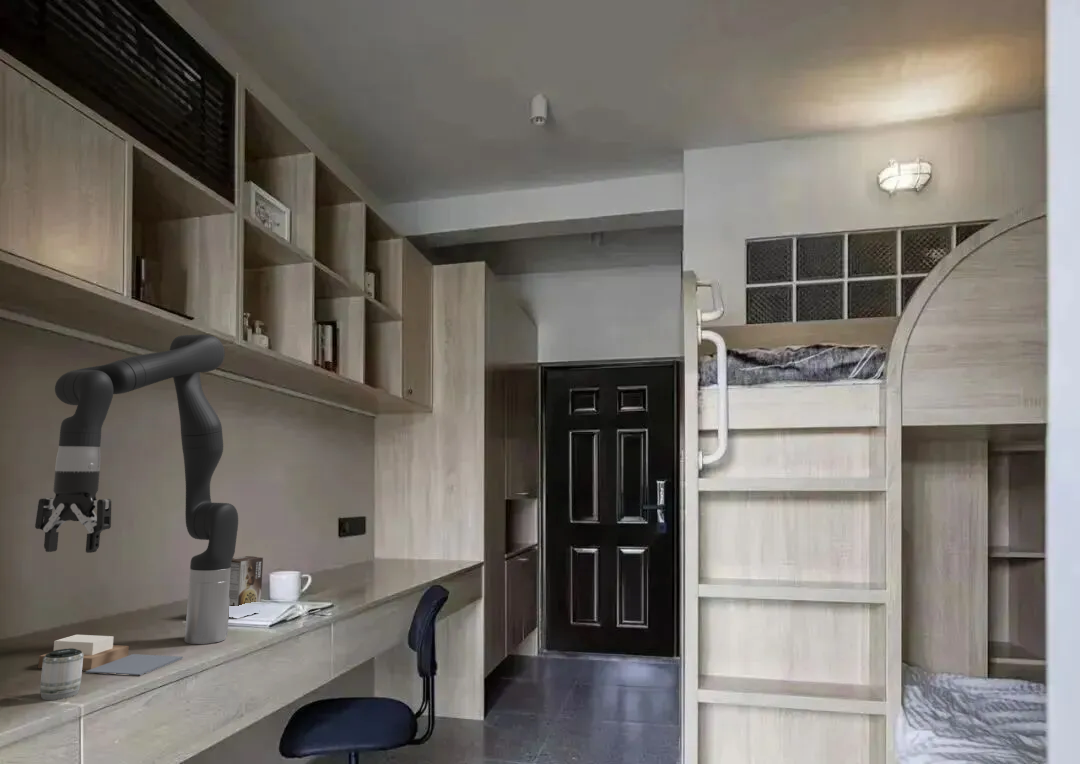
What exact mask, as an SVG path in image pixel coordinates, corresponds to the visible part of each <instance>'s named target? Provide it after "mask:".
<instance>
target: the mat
mask: <svg viewBox="0 0 1080 764" xmlns="http://www.w3.org/2000/svg"><path fill="white" fill-rule="evenodd" d="M182 658H184V657H183V656H178V655H156V654H139V653H132V654H128V656H126V657H123V658H121V659H118V660H115V661H112V662H110V663H107V664H104V665H101V666H99V667H96V668H93V669H90V670H88V671H84V673H85V674H90V673H116V674H129V675H142V674H144V673H146V674H148V673H147V672H149V673H151V672H153V671H152V670H154V671H156V670H158V669H157V668H159V669H161V668H163V667H165V665H166V666H168V665H170V663H171V664H173V663H175V662H177V660H178V661H179V660H183V659H182ZM167 664H168V665H167ZM162 666H163V667H162ZM160 667H161V668H160ZM155 669H156V670H155ZM150 671H151V672H150ZM144 675H145V674H144ZM142 676H143V675H142Z"/></svg>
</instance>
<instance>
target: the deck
mask: <svg viewBox="0 0 1080 764" xmlns="http://www.w3.org/2000/svg"><path fill="white" fill-rule="evenodd" d="M129 649H130V646H129V645H120V644H119V645H117V644H113V648H112V649H109V650H106V651H103V652H100V653H97V654H94V655H84V656H83V666H82V670H90V669H93V668H96V667H99V666H101V665H104V664H107V663H110V662H112V661H115V660H118V659H121V658H123V657H126V656H129V651H130V650H129ZM51 652H52V651H50V652H47V653H44V654H42V655H39V657H38V664H37V668H38V669H40V668H42V664H43V658H44V657H45V655H47V654H48V653H51Z"/></svg>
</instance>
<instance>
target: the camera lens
mask: <svg viewBox="0 0 1080 764" xmlns="http://www.w3.org/2000/svg"><path fill="white" fill-rule="evenodd" d="M50 652H51V653H50ZM50 652H47V653H48V654H47V653H46V654H47V655H45V657H44V658H43V664H42V669H41V676H40V686H39V688H40V691H39V692H40V695H41V697H40V698H41V700H44V701H45V700H46V701H57V700H56V699H59V700H64V699H63V698H65V699H68V698H67V697H69V698H72V697H74V696H73V695H75V696H77V695H78V694H77V693H79V689H80V688H81V683H82V675H83V674H82V673H83V671H82V666H83V656H84V654H83V652H82V651H80V650H77V649H73V648H69V649H61V650H55V651H54V650H52V651H50ZM76 694H77V695H76ZM71 696H72V697H71Z"/></svg>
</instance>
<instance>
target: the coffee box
mask: <svg viewBox="0 0 1080 764" xmlns="http://www.w3.org/2000/svg"><path fill="white" fill-rule="evenodd" d="M263 565H264V557H258V556H253V555H250V556H249V555H248V556H240V557H239V556H238V557H233V559H232V562H231V571H230V587H229V598H230V604H229V606H239V605H242V604H245V603H251V602H261V603H262V589H263V588H262V586H263Z"/></svg>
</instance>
